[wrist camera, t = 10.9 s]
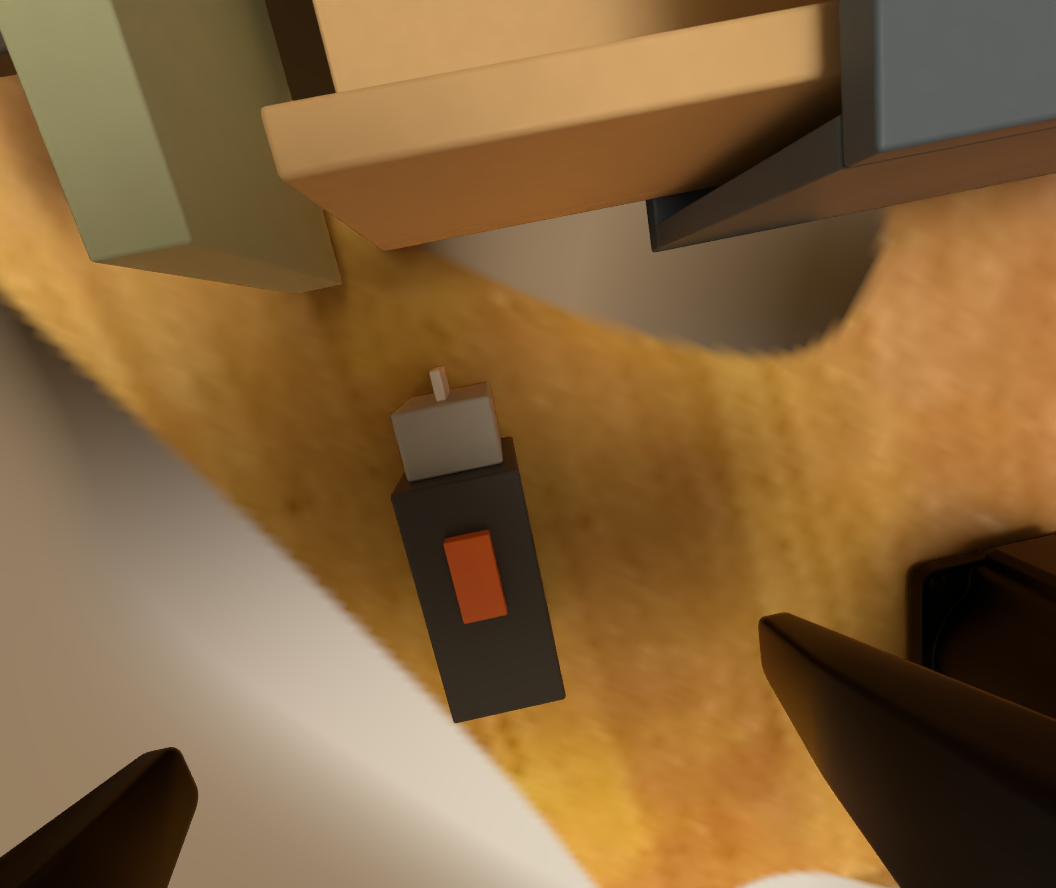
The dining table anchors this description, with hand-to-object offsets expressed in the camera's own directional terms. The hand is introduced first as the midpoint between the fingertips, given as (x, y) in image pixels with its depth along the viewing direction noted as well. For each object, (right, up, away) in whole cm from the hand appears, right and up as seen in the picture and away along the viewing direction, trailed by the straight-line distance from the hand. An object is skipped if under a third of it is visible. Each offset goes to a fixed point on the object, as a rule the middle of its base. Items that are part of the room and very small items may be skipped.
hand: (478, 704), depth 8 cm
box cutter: (-1, +2, +7) cm, 7 cm away
